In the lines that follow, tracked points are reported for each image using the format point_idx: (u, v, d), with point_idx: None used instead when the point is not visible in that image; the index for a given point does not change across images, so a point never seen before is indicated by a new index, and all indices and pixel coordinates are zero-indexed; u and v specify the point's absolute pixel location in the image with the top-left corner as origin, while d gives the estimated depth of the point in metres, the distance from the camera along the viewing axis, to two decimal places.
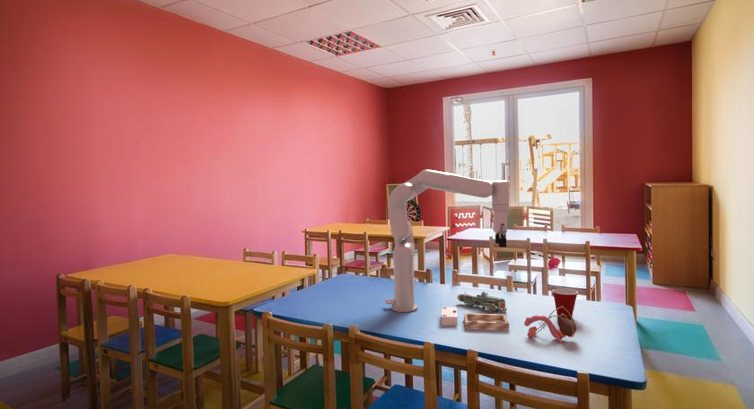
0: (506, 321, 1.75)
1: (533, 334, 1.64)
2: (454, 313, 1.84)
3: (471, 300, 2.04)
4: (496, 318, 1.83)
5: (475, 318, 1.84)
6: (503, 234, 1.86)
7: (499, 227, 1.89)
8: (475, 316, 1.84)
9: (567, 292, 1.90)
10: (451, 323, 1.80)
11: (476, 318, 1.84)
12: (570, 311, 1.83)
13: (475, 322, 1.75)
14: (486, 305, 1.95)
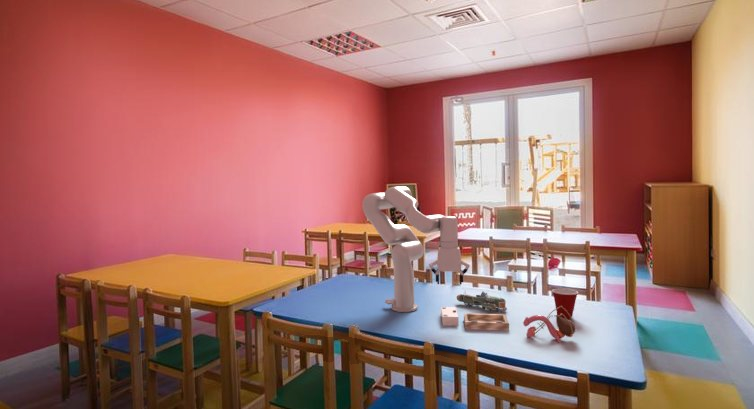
0: (506, 321, 1.75)
1: (532, 334, 1.64)
2: (454, 313, 1.84)
3: (471, 300, 2.03)
4: (496, 318, 1.83)
5: (475, 318, 1.84)
6: None
7: None
8: (475, 316, 1.84)
9: (567, 292, 1.90)
10: (452, 323, 1.80)
11: (476, 318, 1.84)
12: (570, 311, 1.83)
13: (475, 322, 1.75)
14: (486, 305, 1.96)
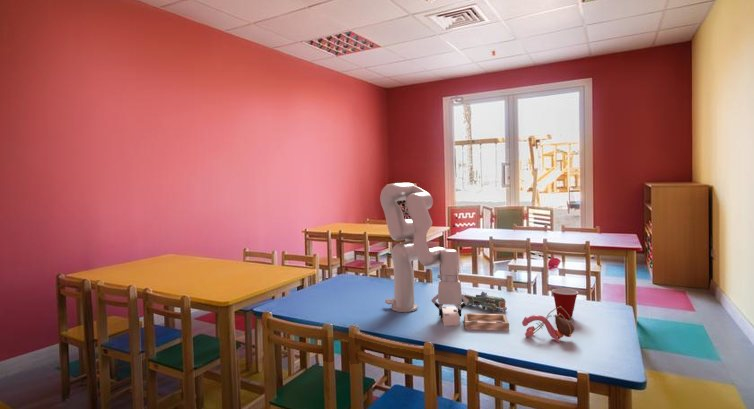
0: (506, 321, 1.75)
1: (531, 334, 1.64)
2: (455, 312, 1.84)
3: (470, 300, 2.04)
4: (496, 318, 1.83)
5: (475, 318, 1.84)
6: None
7: (461, 299, 1.84)
8: (475, 316, 1.84)
9: (567, 292, 1.90)
10: (453, 322, 1.80)
11: (476, 318, 1.84)
12: (570, 311, 1.83)
13: (475, 322, 1.75)
14: (486, 305, 1.96)
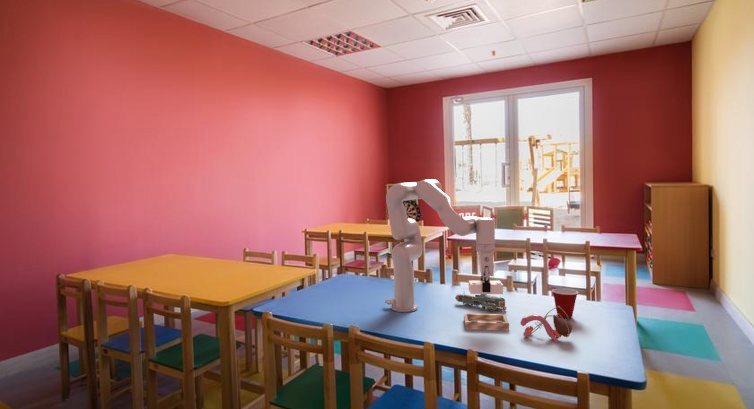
0: (506, 321, 1.75)
1: (529, 334, 1.65)
2: None
3: (470, 300, 2.04)
4: (496, 318, 1.83)
5: (475, 318, 1.84)
6: None
7: None
8: (475, 316, 1.84)
9: (567, 292, 1.90)
10: None
11: (476, 318, 1.84)
12: (570, 311, 1.83)
13: (475, 322, 1.75)
14: (486, 305, 1.96)
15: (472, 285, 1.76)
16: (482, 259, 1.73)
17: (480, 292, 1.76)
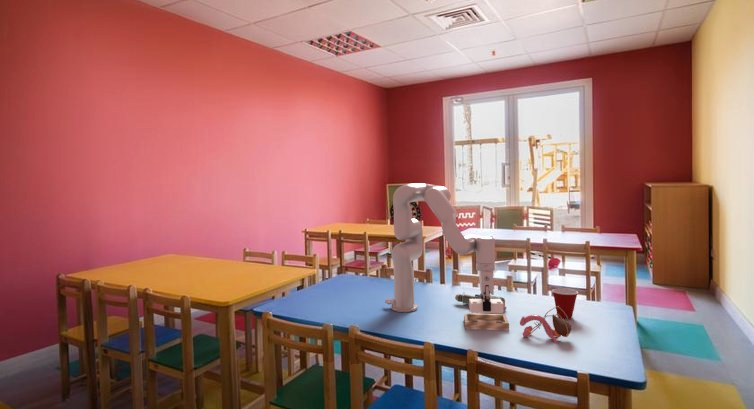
0: (506, 321, 1.75)
1: (528, 334, 1.65)
2: None
3: None
4: (496, 318, 1.83)
5: (475, 318, 1.84)
6: None
7: None
8: (475, 316, 1.84)
9: (567, 292, 1.90)
10: None
11: (476, 318, 1.84)
12: (570, 311, 1.83)
13: (475, 322, 1.75)
14: None
15: (473, 304, 1.76)
16: (482, 278, 1.74)
17: (481, 311, 1.76)
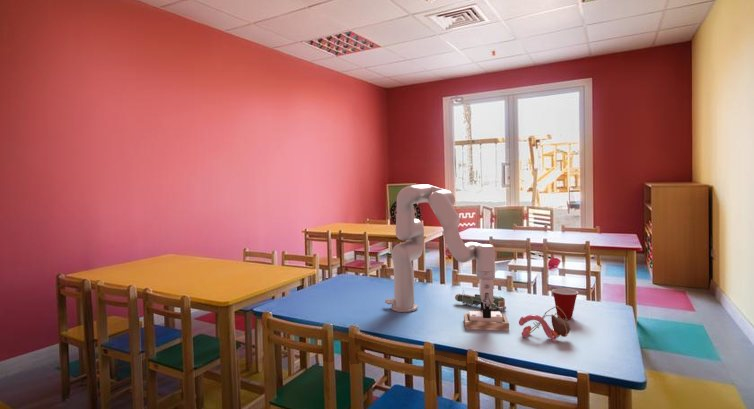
0: (506, 321, 1.75)
1: (527, 333, 1.65)
2: None
3: (470, 300, 2.04)
4: None
5: None
6: None
7: None
8: None
9: (567, 292, 1.90)
10: None
11: None
12: (570, 311, 1.83)
13: (475, 322, 1.75)
14: None
15: (472, 317, 1.77)
16: (482, 286, 1.74)
17: None
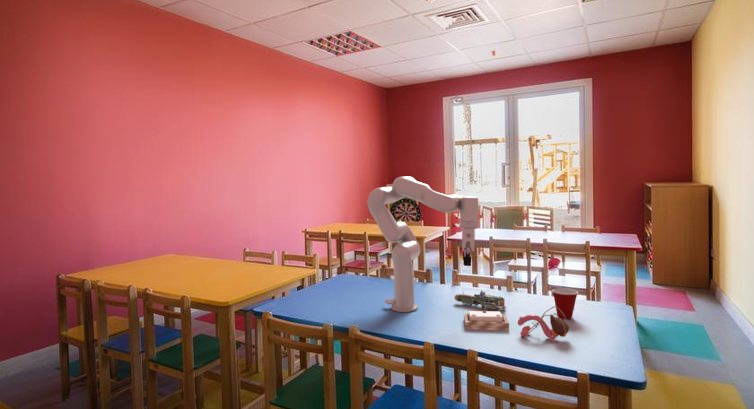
0: (506, 321, 1.75)
1: (526, 333, 1.65)
2: (489, 312, 1.81)
3: (469, 300, 2.04)
4: None
5: None
6: None
7: None
8: None
9: (567, 292, 1.90)
10: None
11: None
12: (570, 311, 1.83)
13: (475, 322, 1.75)
14: (486, 304, 1.97)
15: (472, 317, 1.77)
16: (464, 235, 1.82)
17: None
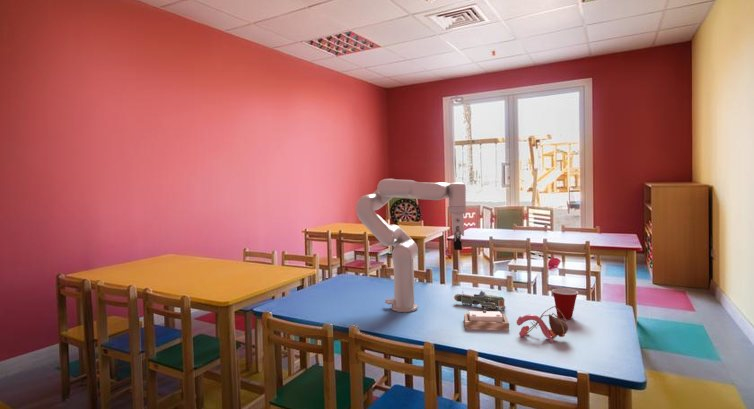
0: (506, 321, 1.75)
1: (525, 333, 1.65)
2: (489, 312, 1.81)
3: (469, 300, 2.04)
4: None
5: None
6: None
7: None
8: None
9: (567, 292, 1.90)
10: None
11: None
12: (570, 311, 1.83)
13: (475, 322, 1.75)
14: (486, 304, 1.97)
15: (472, 317, 1.77)
16: (453, 220, 1.88)
17: None
